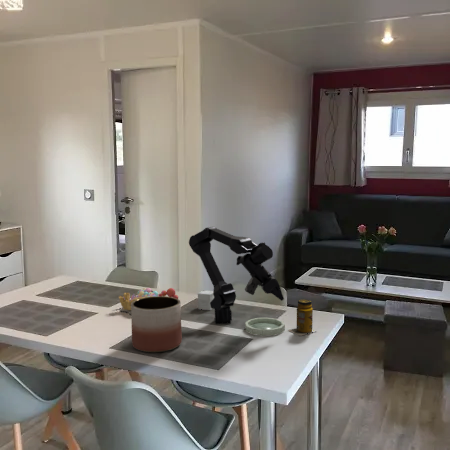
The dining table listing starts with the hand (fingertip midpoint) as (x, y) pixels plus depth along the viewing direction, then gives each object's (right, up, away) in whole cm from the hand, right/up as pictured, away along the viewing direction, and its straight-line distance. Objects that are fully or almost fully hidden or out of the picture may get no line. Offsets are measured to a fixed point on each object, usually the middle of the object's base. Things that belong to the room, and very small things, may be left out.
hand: (280, 297), depth 194 cm
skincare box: (-30, -10, +31) cm, 44 cm away
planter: (-46, -16, -13) cm, 50 cm away
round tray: (-6, -13, +2) cm, 14 cm away
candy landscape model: (-56, -10, +32) cm, 65 cm away
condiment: (+8, -13, -1) cm, 16 cm away
